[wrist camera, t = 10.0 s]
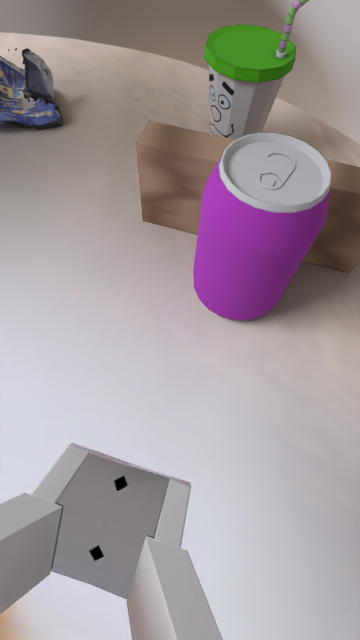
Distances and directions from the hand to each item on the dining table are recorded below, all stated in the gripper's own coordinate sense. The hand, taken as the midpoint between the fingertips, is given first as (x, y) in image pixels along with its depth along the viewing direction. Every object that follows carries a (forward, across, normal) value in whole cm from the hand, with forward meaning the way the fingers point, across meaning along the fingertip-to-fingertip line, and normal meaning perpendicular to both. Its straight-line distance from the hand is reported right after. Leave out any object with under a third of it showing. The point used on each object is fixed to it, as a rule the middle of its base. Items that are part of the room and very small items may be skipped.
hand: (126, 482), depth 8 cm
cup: (+35, +2, -13) cm, 38 cm away
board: (+27, -2, -6) cm, 28 cm away
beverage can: (+23, -2, -1) cm, 23 cm away
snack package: (+36, +28, -13) cm, 47 cm away
